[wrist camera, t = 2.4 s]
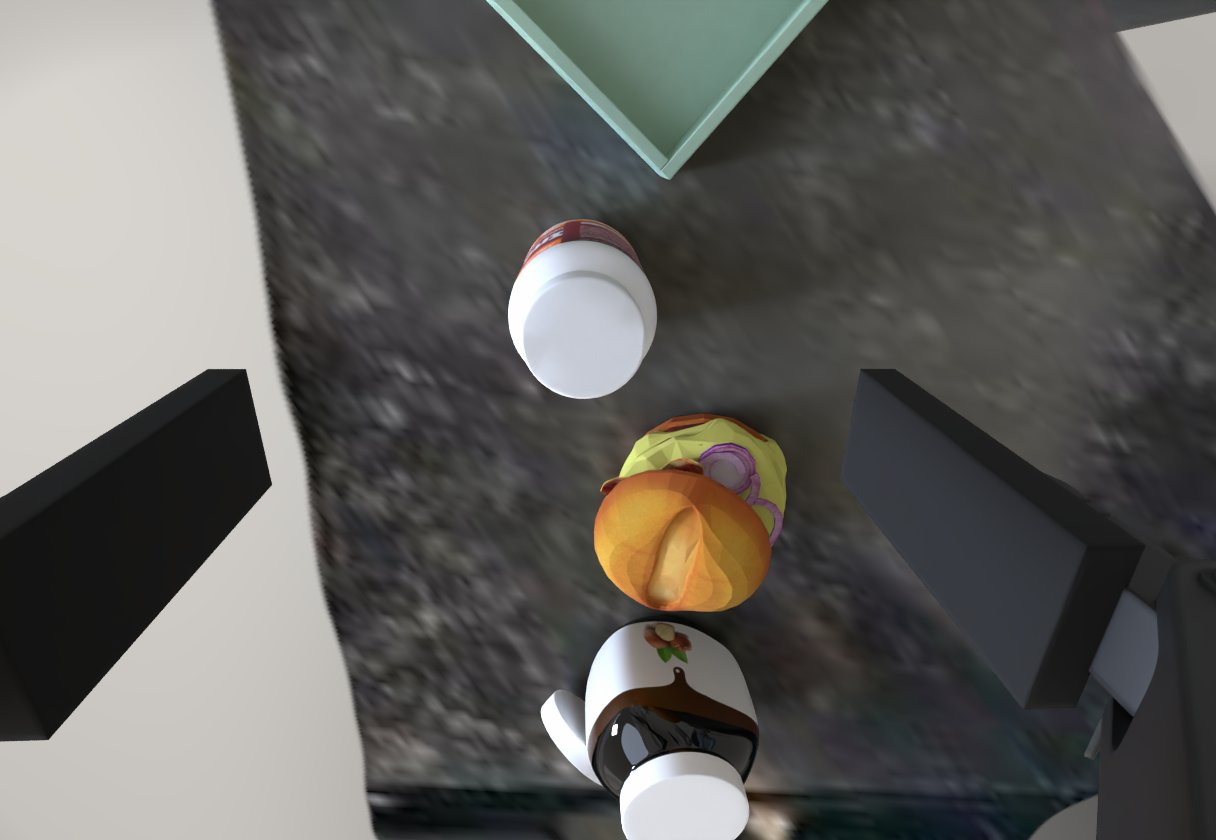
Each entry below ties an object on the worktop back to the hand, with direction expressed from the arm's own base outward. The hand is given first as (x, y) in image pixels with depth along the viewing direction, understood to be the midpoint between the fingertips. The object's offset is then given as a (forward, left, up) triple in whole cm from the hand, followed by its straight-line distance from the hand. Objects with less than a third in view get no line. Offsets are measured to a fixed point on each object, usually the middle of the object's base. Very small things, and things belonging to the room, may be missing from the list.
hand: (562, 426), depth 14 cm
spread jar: (-22, +18, -21) cm, 35 cm away
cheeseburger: (-14, +5, -21) cm, 26 cm away
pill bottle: (-1, 0, -21) cm, 21 cm away
